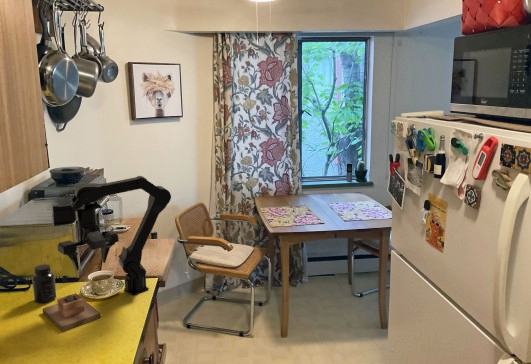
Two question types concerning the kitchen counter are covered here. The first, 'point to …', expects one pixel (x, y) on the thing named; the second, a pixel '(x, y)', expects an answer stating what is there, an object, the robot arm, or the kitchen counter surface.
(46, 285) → the supplement bottle
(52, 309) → the brown peg base
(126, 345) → the kitchen counter surface
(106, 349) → the kitchen counter surface
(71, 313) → the brown hollow square block
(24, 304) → the kitchen counter surface
